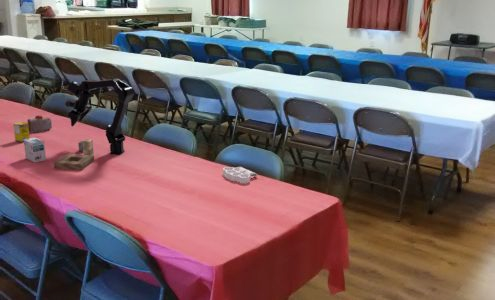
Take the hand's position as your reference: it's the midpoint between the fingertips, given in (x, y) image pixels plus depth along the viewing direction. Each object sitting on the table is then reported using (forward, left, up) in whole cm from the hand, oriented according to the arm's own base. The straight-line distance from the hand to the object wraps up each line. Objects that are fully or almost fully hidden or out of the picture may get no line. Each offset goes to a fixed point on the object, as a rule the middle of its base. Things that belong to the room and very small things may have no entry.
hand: (75, 123), depth 304 cm
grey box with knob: (+38, -27, -14) cm, 49 cm away
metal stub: (-7, +7, -14) cm, 17 cm away
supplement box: (+36, -3, -14) cm, 39 cm away
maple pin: (-14, +16, -14) cm, 25 cm away
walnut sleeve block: (-13, +31, -14) cm, 36 cm away
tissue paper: (-100, +33, -14) cm, 106 cm away
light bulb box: (+11, +27, -14) cm, 32 cm away
